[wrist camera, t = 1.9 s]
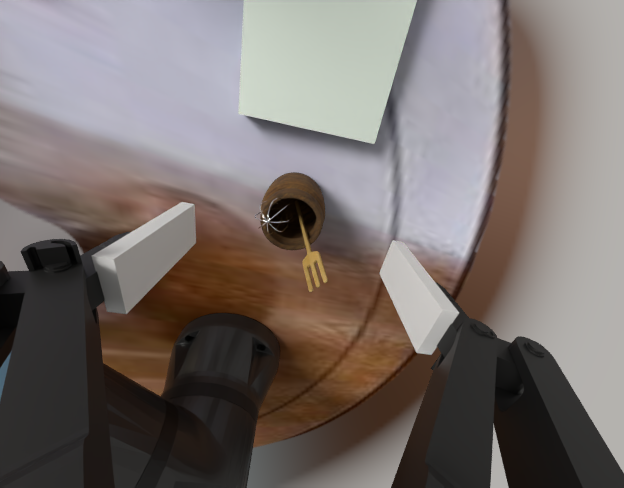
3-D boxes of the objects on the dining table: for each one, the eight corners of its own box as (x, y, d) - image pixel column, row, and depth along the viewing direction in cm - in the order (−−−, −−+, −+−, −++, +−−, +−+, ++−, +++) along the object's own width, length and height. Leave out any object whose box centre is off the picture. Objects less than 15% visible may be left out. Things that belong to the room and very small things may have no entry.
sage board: (369, 142, 22) (374, 144, 20) (244, 115, 21) (238, 113, 19) (429, -71, 16) (445, -96, 14) (258, -129, 15) (251, -164, 13)
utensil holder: (298, 158, 23) (290, 185, 12) (335, 205, 25) (356, 264, 14) (255, 194, 24) (215, 247, 14) (294, 236, 27) (285, 309, 16)
